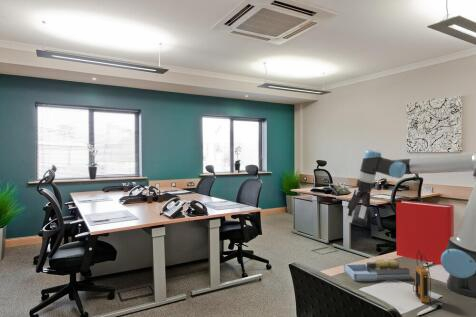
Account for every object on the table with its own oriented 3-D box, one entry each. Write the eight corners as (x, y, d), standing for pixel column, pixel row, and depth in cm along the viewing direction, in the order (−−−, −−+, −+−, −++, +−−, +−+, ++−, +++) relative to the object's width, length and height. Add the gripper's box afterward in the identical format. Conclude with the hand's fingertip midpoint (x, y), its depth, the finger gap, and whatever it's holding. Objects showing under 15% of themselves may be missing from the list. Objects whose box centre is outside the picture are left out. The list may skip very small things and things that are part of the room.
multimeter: (453, 309, 119) (453, 258, 118) (425, 307, 121) (424, 257, 120) (436, 293, 133) (436, 247, 133) (411, 291, 135) (411, 246, 135)
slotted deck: (410, 279, 148) (410, 269, 148) (377, 280, 147) (377, 270, 147) (396, 269, 160) (396, 261, 160) (366, 270, 159) (366, 262, 159)
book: (396, 255, 183) (396, 201, 183) (401, 252, 189) (401, 200, 188) (450, 267, 163) (450, 207, 163) (454, 263, 169) (454, 205, 168)
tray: (377, 280, 147) (377, 273, 147) (354, 281, 146) (354, 274, 146) (364, 270, 160) (364, 263, 160) (344, 271, 159) (344, 264, 159)
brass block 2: (398, 271, 152) (398, 262, 152) (390, 271, 152) (390, 262, 152) (393, 268, 156) (393, 259, 156) (386, 268, 156) (386, 259, 156)
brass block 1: (387, 271, 152) (387, 262, 152) (379, 271, 151) (379, 262, 151) (383, 268, 156) (383, 259, 156) (375, 268, 155) (375, 259, 155)
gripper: (369, 177, 166) (359, 213, 170) (346, 179, 149) (336, 220, 153) (383, 181, 160) (372, 218, 165) (361, 184, 143) (350, 226, 148)
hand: (355, 219), depth 159 cm, fingers open, 13 cm apart
